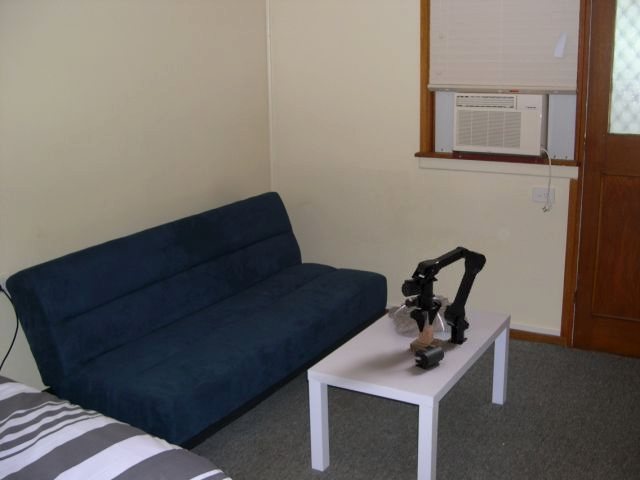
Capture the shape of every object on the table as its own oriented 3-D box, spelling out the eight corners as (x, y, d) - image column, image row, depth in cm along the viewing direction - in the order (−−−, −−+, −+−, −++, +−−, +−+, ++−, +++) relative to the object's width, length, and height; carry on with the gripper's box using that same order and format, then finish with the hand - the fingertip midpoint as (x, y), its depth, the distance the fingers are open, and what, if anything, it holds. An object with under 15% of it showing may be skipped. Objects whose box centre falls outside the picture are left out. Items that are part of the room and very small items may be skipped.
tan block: (420, 342, 323) (420, 335, 322) (442, 346, 318) (442, 339, 317) (410, 350, 315) (410, 343, 314) (432, 355, 310) (432, 348, 309)
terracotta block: (423, 338, 319) (423, 325, 317) (433, 340, 316) (433, 327, 315) (419, 342, 315) (419, 329, 313) (429, 344, 313) (429, 330, 311)
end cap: (428, 371, 295) (428, 355, 293) (414, 366, 300) (414, 350, 298) (444, 363, 301) (444, 347, 300) (430, 358, 306) (430, 343, 305)
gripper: (418, 283, 322) (417, 318, 326) (397, 296, 307) (398, 332, 311) (442, 287, 316) (442, 322, 320) (423, 300, 301) (423, 337, 305)
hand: (425, 328), depth 314 cm, fingers open, 9 cm apart
